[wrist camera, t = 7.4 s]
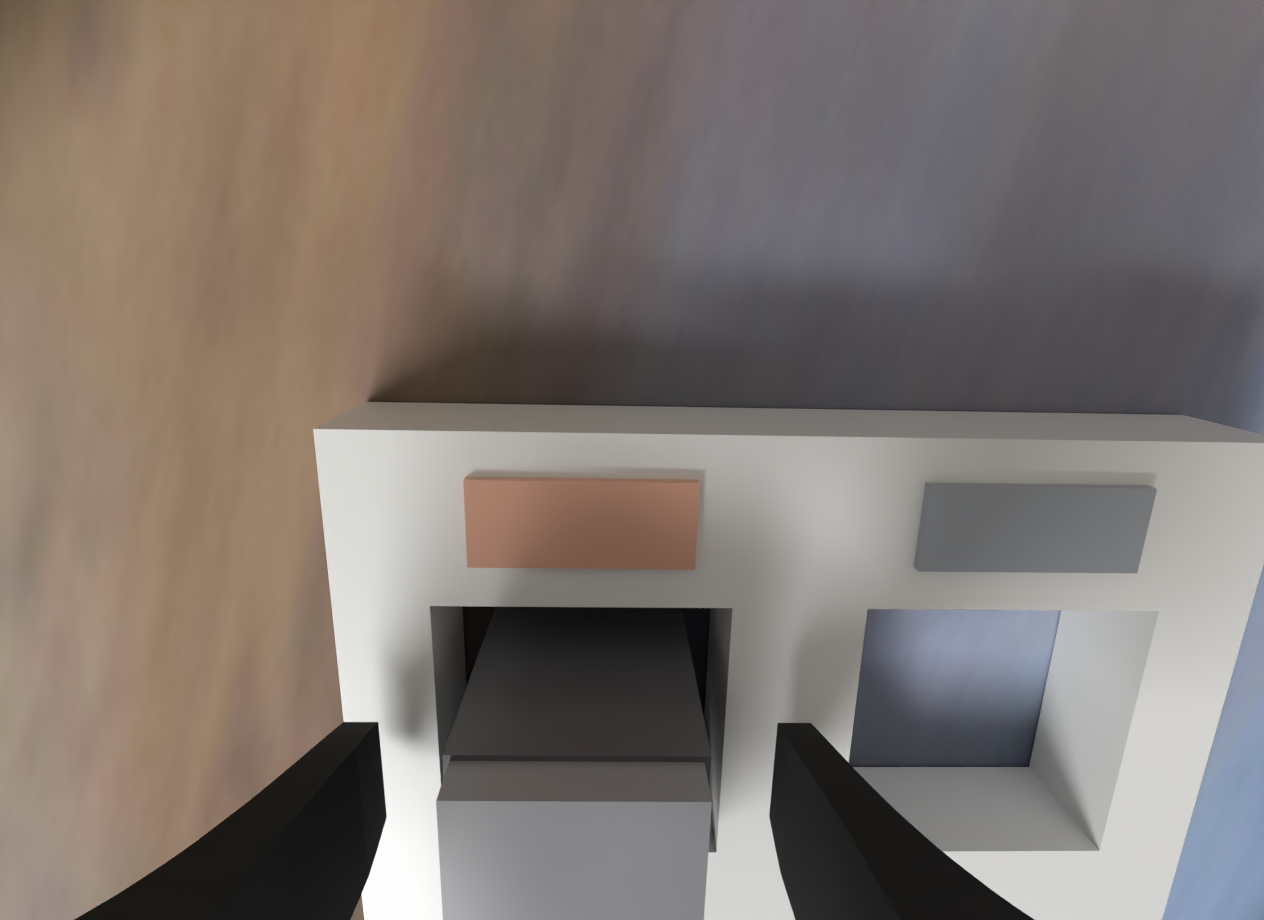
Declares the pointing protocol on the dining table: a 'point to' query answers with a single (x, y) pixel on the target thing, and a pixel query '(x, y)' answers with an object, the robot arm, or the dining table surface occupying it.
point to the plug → (577, 771)
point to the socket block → (816, 607)
